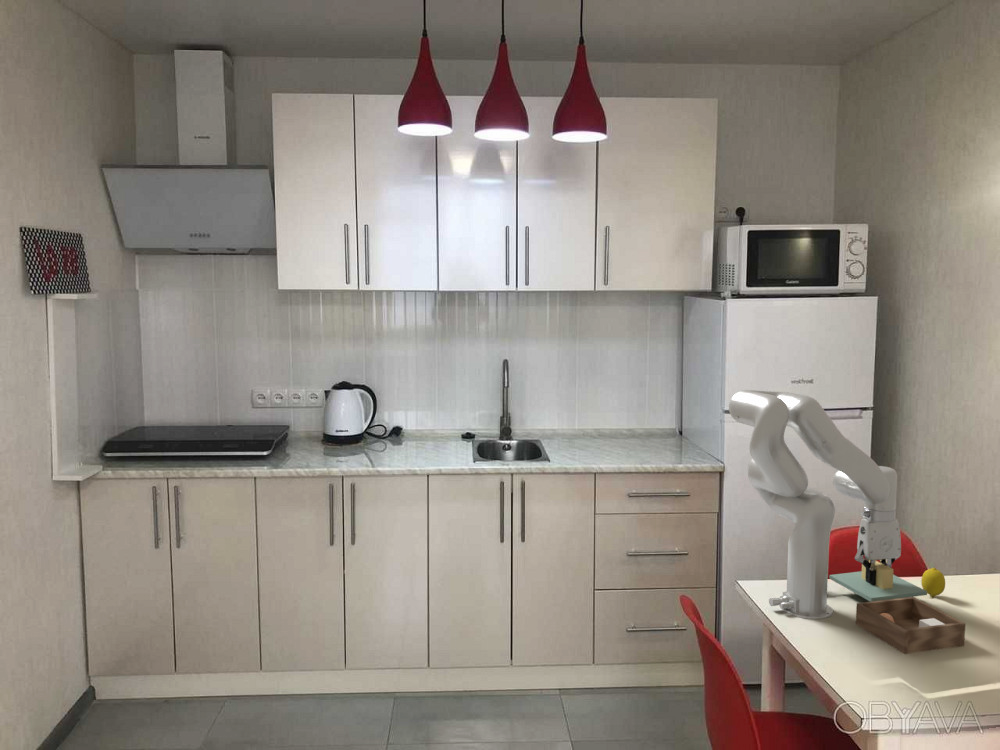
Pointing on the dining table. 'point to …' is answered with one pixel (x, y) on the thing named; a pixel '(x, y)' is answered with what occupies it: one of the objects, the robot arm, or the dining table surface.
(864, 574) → the lid
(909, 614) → the box
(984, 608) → the dining table surface
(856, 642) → the dining table surface
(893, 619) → the ball
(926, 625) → the block
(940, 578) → the lemon
